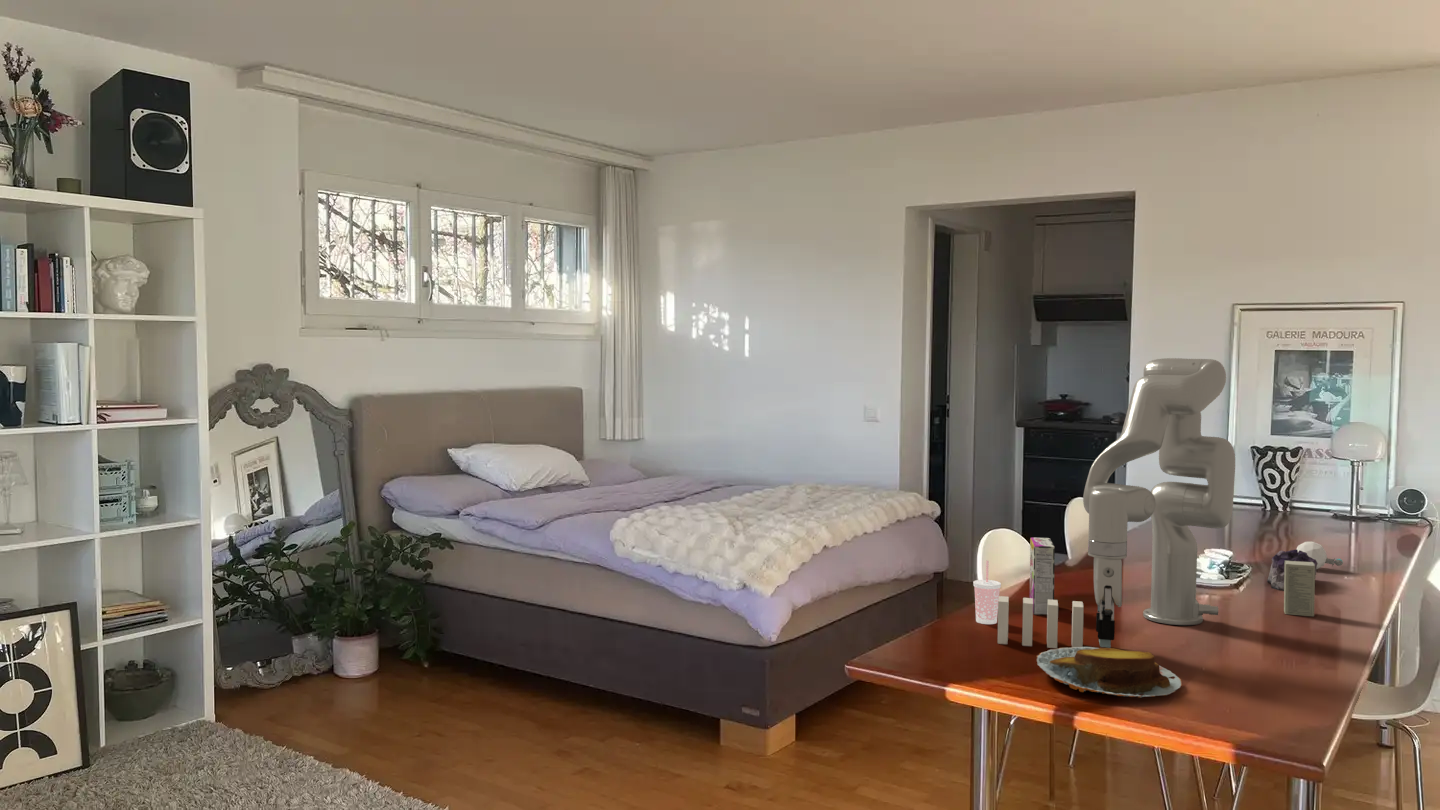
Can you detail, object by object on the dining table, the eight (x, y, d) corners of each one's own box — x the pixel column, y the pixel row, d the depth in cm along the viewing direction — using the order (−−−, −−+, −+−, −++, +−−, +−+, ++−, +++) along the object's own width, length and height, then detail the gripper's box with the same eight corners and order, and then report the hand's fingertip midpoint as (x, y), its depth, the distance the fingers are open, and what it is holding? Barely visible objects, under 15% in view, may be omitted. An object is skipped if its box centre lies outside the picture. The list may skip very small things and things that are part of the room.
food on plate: (1112, 656, 215) (1113, 623, 215) (1213, 695, 192) (1214, 659, 191) (1006, 670, 206) (1007, 636, 205) (1098, 713, 182) (1099, 674, 182)
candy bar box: (1028, 603, 258) (1029, 536, 257) (1049, 604, 257) (1051, 537, 256) (1032, 615, 247) (1033, 545, 246) (1054, 616, 246) (1056, 546, 245)
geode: (1314, 595, 268) (1309, 556, 268) (1263, 595, 275) (1258, 557, 275) (1322, 578, 285) (1318, 541, 284) (1275, 578, 291) (1270, 542, 291)
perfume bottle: (1293, 551, 305) (1341, 560, 300) (1291, 572, 300) (1339, 581, 295) (1297, 532, 301) (1346, 541, 295) (1295, 553, 295) (1344, 562, 290)
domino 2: (1032, 639, 226) (1033, 598, 226) (1032, 646, 221) (1032, 603, 221) (1022, 639, 227) (1023, 597, 226) (1022, 645, 222) (1023, 603, 221)
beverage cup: (985, 626, 237) (986, 564, 236) (966, 620, 242) (967, 559, 242) (1006, 623, 240) (1007, 561, 239) (987, 616, 245) (988, 557, 244)
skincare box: (1312, 613, 250) (1314, 562, 249) (1314, 617, 246) (1316, 565, 245) (1282, 610, 252) (1284, 559, 252) (1283, 614, 248) (1285, 563, 248)
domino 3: (1056, 641, 225) (1057, 599, 224) (1057, 648, 220) (1058, 605, 219) (1046, 641, 225) (1047, 599, 225) (1047, 647, 221) (1047, 604, 220)
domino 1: (1007, 638, 228) (1008, 596, 227) (1007, 644, 223) (1008, 602, 222) (998, 637, 228) (999, 596, 228) (997, 643, 223) (998, 601, 223)
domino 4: (1081, 643, 223) (1082, 601, 223) (1082, 650, 219) (1083, 607, 218) (1071, 643, 224) (1072, 601, 223) (1072, 649, 219) (1073, 606, 219)
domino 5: (1108, 641, 222) (1110, 598, 221) (1110, 647, 217) (1111, 604, 216) (1098, 640, 222) (1100, 598, 222) (1100, 647, 217) (1101, 603, 217)
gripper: (1130, 557, 209) (1127, 648, 210) (1123, 542, 226) (1121, 626, 227) (1090, 555, 211) (1087, 645, 212) (1086, 540, 228) (1084, 624, 229)
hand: (1105, 634), depth 219 cm, fingers closed on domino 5, 4 cm apart
